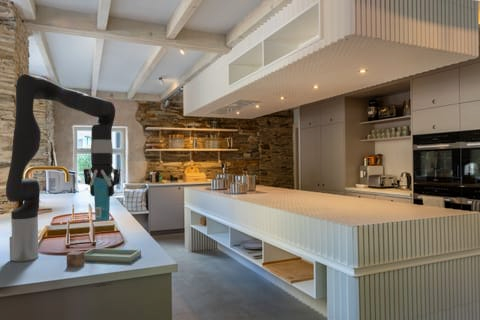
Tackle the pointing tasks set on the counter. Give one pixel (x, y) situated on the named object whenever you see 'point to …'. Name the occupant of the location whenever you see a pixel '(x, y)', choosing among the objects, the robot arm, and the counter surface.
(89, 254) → the tray
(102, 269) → the counter surface
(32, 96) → the robot arm
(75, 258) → the walnut block
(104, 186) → the tube
